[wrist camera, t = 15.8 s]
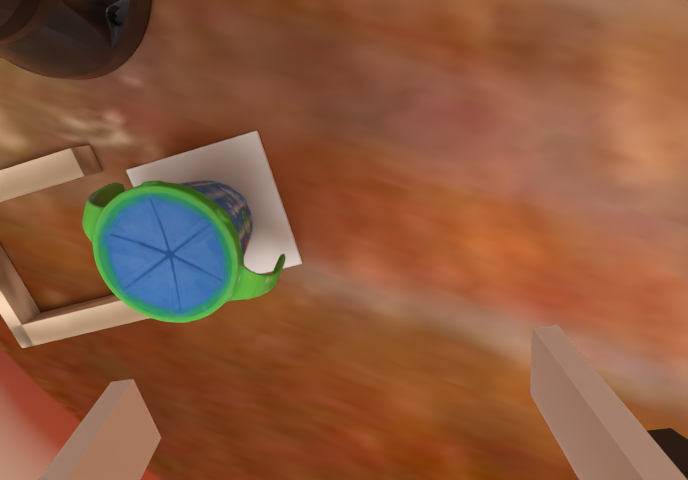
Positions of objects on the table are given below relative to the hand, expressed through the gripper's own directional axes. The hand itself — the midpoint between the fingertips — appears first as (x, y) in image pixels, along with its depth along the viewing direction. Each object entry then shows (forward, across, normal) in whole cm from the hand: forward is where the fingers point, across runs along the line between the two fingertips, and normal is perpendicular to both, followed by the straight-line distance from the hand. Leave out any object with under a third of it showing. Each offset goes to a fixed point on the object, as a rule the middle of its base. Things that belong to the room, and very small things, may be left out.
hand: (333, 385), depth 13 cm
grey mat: (+25, -12, -2) cm, 28 cm away
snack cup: (+25, -12, -2) cm, 28 cm away
